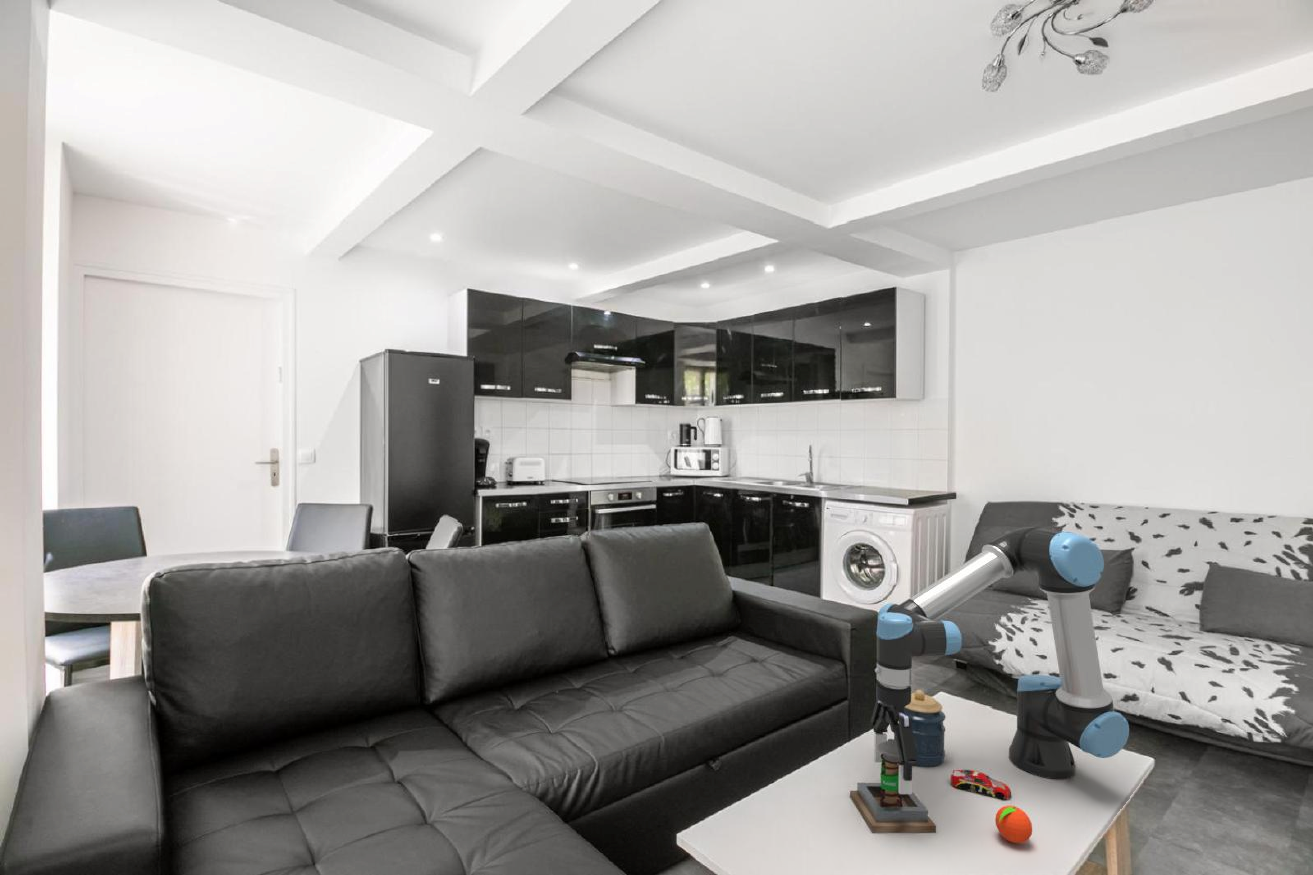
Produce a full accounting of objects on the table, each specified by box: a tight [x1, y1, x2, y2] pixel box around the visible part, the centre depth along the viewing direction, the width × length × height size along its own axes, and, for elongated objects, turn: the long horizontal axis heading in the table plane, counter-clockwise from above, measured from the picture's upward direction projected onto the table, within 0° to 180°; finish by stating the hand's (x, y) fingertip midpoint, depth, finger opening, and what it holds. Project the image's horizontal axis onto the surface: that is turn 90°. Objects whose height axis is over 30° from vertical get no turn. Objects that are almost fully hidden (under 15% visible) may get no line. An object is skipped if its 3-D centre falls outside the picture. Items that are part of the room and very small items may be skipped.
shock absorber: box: [877, 738, 902, 807], centre depth 145 cm, size 6×6×15 cm
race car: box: [950, 769, 1012, 801], centre depth 156 cm, size 13×5×4 cm, turn 61°
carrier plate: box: [849, 790, 937, 834], centre depth 145 cm, size 14×14×2 cm
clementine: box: [995, 805, 1033, 844], centre depth 136 cm, size 8×7×7 cm
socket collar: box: [856, 782, 929, 823], centre depth 145 cm, size 12×12×2 cm
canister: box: [893, 689, 946, 767], centre depth 173 cm, size 13×13×18 cm
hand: (892, 776), depth 145 cm, fingers open, 13 cm apart
